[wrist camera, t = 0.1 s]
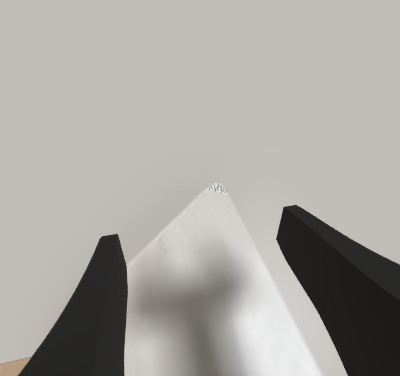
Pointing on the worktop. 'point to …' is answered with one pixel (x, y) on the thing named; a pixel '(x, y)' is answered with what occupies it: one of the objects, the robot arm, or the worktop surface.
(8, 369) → the carton lid
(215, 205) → the worktop surface
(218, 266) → the worktop surface
